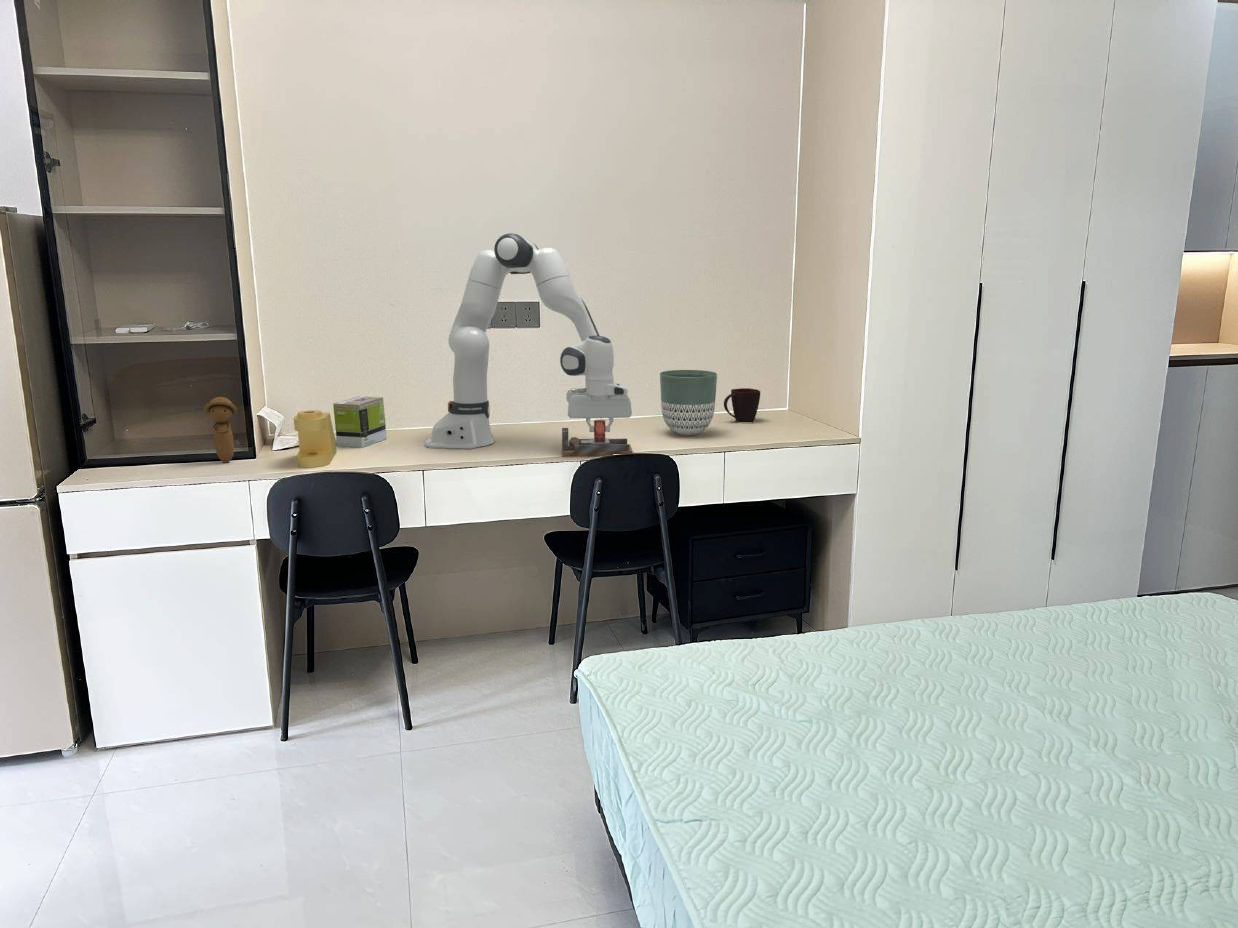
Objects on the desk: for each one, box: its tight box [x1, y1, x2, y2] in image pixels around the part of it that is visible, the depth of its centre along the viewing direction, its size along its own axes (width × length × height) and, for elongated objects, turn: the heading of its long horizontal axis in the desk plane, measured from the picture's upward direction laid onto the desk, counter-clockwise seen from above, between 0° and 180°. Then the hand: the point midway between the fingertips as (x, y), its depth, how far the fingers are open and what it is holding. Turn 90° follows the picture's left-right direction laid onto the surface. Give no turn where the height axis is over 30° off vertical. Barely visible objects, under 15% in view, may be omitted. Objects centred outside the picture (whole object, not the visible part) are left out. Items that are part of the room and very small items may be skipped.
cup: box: [723, 387, 761, 423], centre depth 330 cm, size 10×14×12 cm
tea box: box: [332, 396, 387, 449], centre depth 293 cm, size 15×10×15 cm
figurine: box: [203, 396, 238, 463], centre depth 265 cm, size 9×7×20 cm
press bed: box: [561, 427, 634, 458], centre depth 280 cm, size 22×10×8 cm, turn 94°
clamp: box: [293, 409, 338, 469], centre depth 268 cm, size 20×9×16 cm, turn 10°
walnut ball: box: [569, 436, 580, 446], centre depth 279 cm, size 4×4×4 cm
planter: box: [659, 369, 718, 436], centre depth 307 cm, size 20×20×21 cm
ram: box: [581, 419, 610, 445], centre depth 279 cm, size 9×7×9 cm
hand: (599, 431), depth 279 cm, fingers closed on ram, 4 cm apart
